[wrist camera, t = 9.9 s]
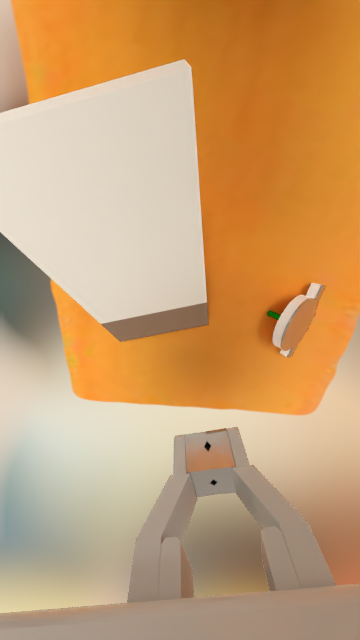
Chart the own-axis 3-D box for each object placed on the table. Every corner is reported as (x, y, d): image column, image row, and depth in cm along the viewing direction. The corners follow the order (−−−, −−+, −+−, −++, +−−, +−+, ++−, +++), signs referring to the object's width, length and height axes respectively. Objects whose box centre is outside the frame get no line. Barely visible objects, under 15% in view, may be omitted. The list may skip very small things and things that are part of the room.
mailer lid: (-69, 133, 13) (-91, 149, 12) (184, 59, 12) (191, 67, 11) (120, 329, 39) (120, 341, 38) (205, 312, 38) (208, 324, 37)
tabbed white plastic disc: (296, 352, 42) (295, 377, 33) (259, 338, 46) (248, 357, 36) (329, 285, 37) (339, 292, 28) (284, 274, 40) (279, 277, 31)
